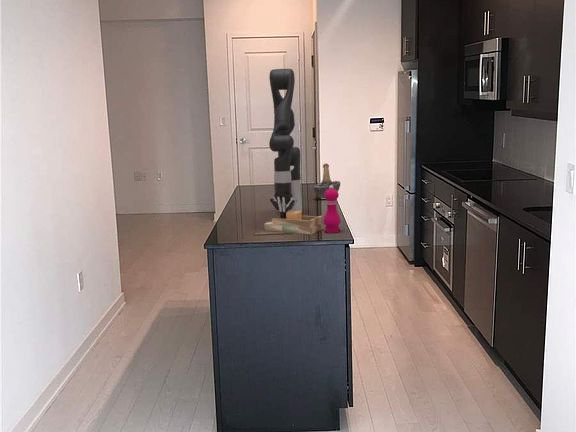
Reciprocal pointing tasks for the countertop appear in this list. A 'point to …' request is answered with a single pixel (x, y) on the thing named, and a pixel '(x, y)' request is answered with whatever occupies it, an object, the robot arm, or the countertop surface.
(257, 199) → the countertop surface
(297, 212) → the block
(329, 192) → the pepper mill
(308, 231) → the cream tray
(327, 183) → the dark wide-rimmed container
